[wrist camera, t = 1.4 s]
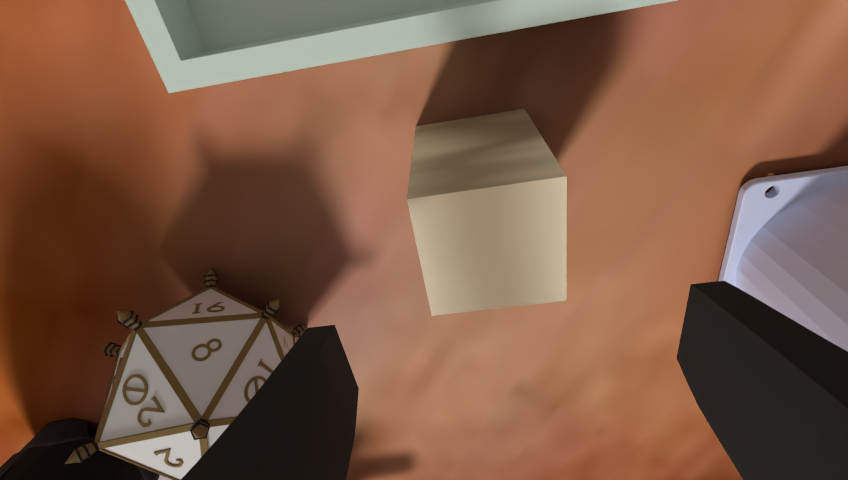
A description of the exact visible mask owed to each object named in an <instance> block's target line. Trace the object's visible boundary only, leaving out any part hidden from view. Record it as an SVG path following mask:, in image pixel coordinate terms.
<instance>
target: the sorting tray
mask: <svg viewBox="0 0 848 480" xmlns="http://www.w3.org/2000/svg"><path fill="white" fill-rule="evenodd" d="M125 1H126V3H127V5H128V8H129V10H130V12H131V14H132V16H133V18H134V20H135V22H136V25H137V27H138V29H139V31H140V33H141V35H142V37H143V39H144V42H145V44H146V46H147V48H148V50H149V52H150V54H151V56H152V59H153V61H154V63H155V65H156V67H157V69H158V71H159V74H160V76H161V78H162V80H163V82H164V84H165V86H166V88H167V91H168V93H172V92H177V91H183V90H188V89H194V88H199V87H205V86H210V85H216V84H221V83H227V82H232V81H238V80H243V79H249V78H254V77H260V76H265V75H271V74H276V73H282V72H287V71H293V70H298V69H304V68H309V67H315V66H320V65H326V64H331V63H336V62H342V61H347V60H353V59H358V58H364V57H369V56H375V55H380V54H386V53H391V52H397V51H402V50H408V49H413V48H419V47H424V46H430V45H435V44H441V43H446V42H452V41H457V40H463V39H468V38H474V37H479V36H485V35H490V34H496V33H501V32H507V31H512V30H517V29H523V28H528V27H534V26H539V25H545V24H550V23H556V22H561V21H567V20H572V19H578V18H583V17H589V16H594V15H600V14H605V13H611V12H616V11H622V10H627V9H633V8H638V7H644V6H649V5H655V4H660V3H666V2H671V1H677V0H125Z"/></svg>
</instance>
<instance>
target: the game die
mask: <svg viewBox="0 0 848 480" xmlns="http://www.w3.org/2000/svg"><path fill="white" fill-rule="evenodd" d="M217 277H218V275H216V274H215V273H214V272H213V270H212V269H210V270H209V272H208V273H207V274H206V275H205V276H204V278H205V281H204V282H205V283H206V286H207V287H206V288H205V289H203V290H201V291H199V292H197V293H195V294H193V295H191V296H189V297H187V298H185V299H184V300H182V301H180V302H178V303H176V304H174V305H172V306H170V307H168V308H166V309H164V310H162V311H160V312H158V313H156V314H154V315H152V316H151V317H149V318H147V319H145V320H143V321H139V319H138V315H135V314H134V311H130V312H126V311H117V314H118V318H119V320H118V322H119V323H120V324H121V325H124V326H125V327H126V328H132V331H131V332H130V334H129V336H128V337H127V339H126V341H125V342H124V344H123V346H122V347H121V346H120V345H117V344H115V343H111V342H110V343H109V344H106V345H102V348H103V349H104V352H105V355H106V356H107V355H110V356H111V357H113V356H117V359H116V363H115V366H114V370H113V374H112V377H111V381H110V385H109V388H108V392H107V396H106V399H105V403H104V407H103V410H102V414H101V418H100V422H99V425H98V429H97V433H96V436H95V440H94V441H93V442H92V443H89V444H86V445H85V444H82V446H81V447H79V448H77V449H76V448H74V451H73V453H72V454H71V456H70V457H69V458H68V460H67V461H66V462H65V464H69V463H76V462H80V463H82V462H83V460H84V459H86V458H87V457H88V458H90V457H91V455H92V454H93V453H94V452H95V451H98V450H100V451H102V452H105V453H107V454H110V455H112V456H115V457H117V458H120V459H122V460H125V461H127V462H130V463H132V464H135V465H137V466H140V467H142V468H145V469H147V470H150V471H152V472H155V473H157V474H160V475H162V476H165V477H167V478H170V479H172V480H181V479H182V478H183V477H184V476H185V475H186V474H187V472H188V471H189V470H190V469H191V468H192V467H193V466H194V465H195V464H196V463H197V462H198V461H199V459H200V458H201V457H202V456H203V455H204V454H205V452H206V451H207V450H208V449H209V448H210V447H211V446H212V444H213V443H214V442H215V441H216V440H217V439H218V438H219V436H220V435H221V434H222V433H223V432H224V431H225V430H226V428H227V427H228V426H229V425H230V424H231V423H232V422H233V420H234V419H235V418H236V417H237V416H238V414H239V413H240V412H241V411H242V410H243V408H244V407H245V406H246V405H247V403H248V402H249V401H250V400H251V398H252V397H253V396H254V395H255V394H256V392H257V391H258V390H259V389H260V387H261V386H262V385H263V384H264V382H265V381H266V380H267V379H268V377H269V376H270V375H271V373H272V372H273V371H274V370H275V368H276V367H277V366H278V364H279V363H280V362H281V361H282V359H283V358H284V357H285V356H286V354H287V353H288V352H289V350H290V349H291V348H292V347H293V345H294V344H295V339H294V338H295V337H300V336H301V335H302V334H303V333H304V332H305V330H306V328H307V326H301V325H299V326H297V327H296V328H294V329H293V331H292V332H291V331H290V330H288V329H287V328H286V327H284V326H283V325H282V324H280V323H279V322H278V321H276V320H275V319H274V318H272V317H271V316H273V315H274V314H276V313H277V311H278V310H280V307H279V300H275V301H267V305H265V306H264V311H262V310H260V309H258V308H256V307H254V306H252V305H250V304H248V303H246V302H244V301H242V300H240V299H238V298H236V297H234V296H232V295H230V294H228V293H226V292H224V291H222V290H219V289H217V288H215V284H216V282H217V280H216V278H217Z"/></svg>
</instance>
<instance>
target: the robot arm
mask: <svg viewBox="0 0 848 480" xmlns="http://www.w3.org/2000/svg"><path fill="white" fill-rule="evenodd" d="M772 186H773V188H772V189H771V190H770V191H769V192H768V193H765V192H766V190H767V189H768V188H770V187H772ZM677 360H678V362H679V364H680V367H681V369H682V371H683V373H684V376H685V378H686V380H687V383H688V385H689V387H690V389H691V391H692V393H693V395H694V397H695V400H696V402H697V404H698V406H699V408H700V409H701V411H702V413H703V414H704V416H705V418H706V419H707V421H708V423H709V424H710V426H711V428H712V429H713V431H714V433H715V434H716V436H717V438H718V439H719V441H720V442H721V444H722V446H723V447H724V449H725V451H726V452H727V454H728V455H729V457H730V459H731V460H732V462H733V464H734V465H735V467H736V468H737V470H738V472H739V473H740V475H741V476H742V478H743V480H848V166H842V167H835V168H827V169H820V170H813V171H805V172H798V173H791V174H783V175H776V176H769V177H761V178H755V179H751V180H749V181H748V182H746V183H745V184H744V185H743V186H742V187H741V188H740V191H739V194H738V198H737V202H736V207H735V211H734V215H733V220H732V224H731V228H730V232H729V237H728V241H727V245H726V249H725V254H724V258H723V262H722V267H721V271H720V275H719V279H718V281H717V282H708V283H699V284H691V287H690V292H689V297H688V302H687V307H686V313H685V318H684V323H683V328H682V333H681V338H680V344H679V349H678V354H677ZM357 402H358V386H357V383H356V381H355V378H354V375H353V373H352V370H351V367H350V365H349V362H348V359H347V357H346V354H345V351H344V349H343V346H342V344H341V341H340V338H339V336H338V333H337V330H336V328H335V325H330V326H321V327H313V328H307V329H306V330H305V332H304V333H303V334H302V335H301V336H300V338H299V339H298V340H297V342H296V343H295V344H294V345H293V347H292V348H291V349H290V350H289V352H288V353H287V354H286V356H285V357H284V358H283V359H282V361H281V362H280V363H279V364H278V366H277V367H276V368H275V370H274V371H273V372H272V373H271V375H270V376H269V377H268V379H267V380H266V381H265V382H264V384H263V385H262V386H261V387H260V389H259V390H258V391H257V392H256V394H255V395H254V396H253V397H252V398H251V400H250V401H249V402H248V403H247V405H246V406H245V407H244V408H243V410H242V411H241V412H240V413H239V414H238V416H237V417H236V418H235V419H234V420H233V422H232V423H231V424H230V425H229V426H228V427H227V428H226V430H225V431H224V432H223V433H222V434H221V435H220V436H219V438H218V439H217V440H216V441H215V442H214V443H213V444H212V446H211V447H210V448H209V449H208V450H207V451H206V452H205V454H204V455H203V456H202V457H201V458H200V459H199V461H198V462H197V463H196V464H195V465H194V466H193V467H192V468H191V469H190V470H189V471H188V472H187V474H186V475H185V476H184V477H183V478H182V479H181V480H346V476H347V471H348V466H349V461H350V456H351V451H352V446H353V441H354V436H355V426H356V415H357Z"/></svg>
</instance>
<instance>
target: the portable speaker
mask: <svg viewBox="0 0 848 480" xmlns="http://www.w3.org/2000/svg"><path fill="white" fill-rule="evenodd" d="M94 440H95V437H93V436H91V435H88V427H87V423H86V422H83V421H80V420H76V419H68V420H64V421H59V422H54V423H50V424H47V425H46V426H45V427H44V428H43V429H42V430H41V431H40V432H39V433H38V434H37V435H36V436H35V437H34V438H33V439H32V440H31V441H30V442H29V443H28V444H27V445H26V446H25V447H24V448H23V449H22V450H21V451H20V452H19V453H16V454H14V455H13V456H12V457H11V458H10V459H9V460H7V461H6V462H5V463H4V464H3V465H2V466H1V467H0V480H158V478H159V475H160V474H157V473H155V472H152V471H150V470H147V469H145V468H142V467H140V466H137V465H135V464H132V463H130V462H127V461H125V460H122V459H120V458H117V457H115V456H112V455H110V454H107V453H105V452H102V451H100V450H98V451H95V452H94V453H93V454H92V455H91V457H90V458H88V457H87V458H86V459H84V460H83V462H82V463H80V462H76V463H69V464H65V462H66V461H67V460H68V458H69V457H70V456H71V454H72V453H73V451H74V448H76V449H77V448H79V447H81V446H82V444H85V445H86V444H89V443H92V442H93V441H94Z"/></svg>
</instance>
